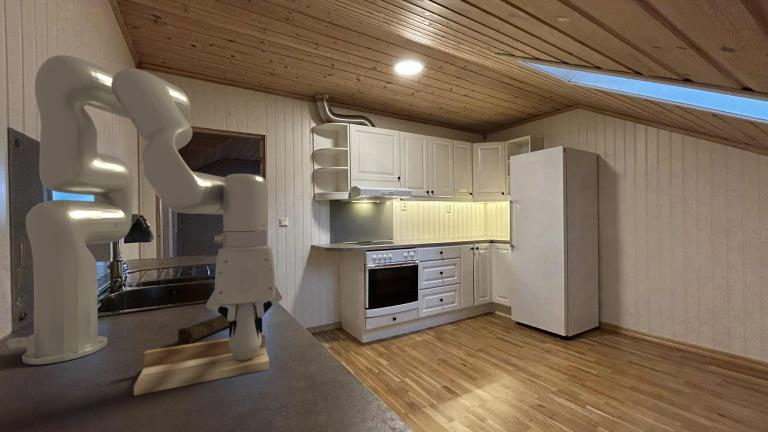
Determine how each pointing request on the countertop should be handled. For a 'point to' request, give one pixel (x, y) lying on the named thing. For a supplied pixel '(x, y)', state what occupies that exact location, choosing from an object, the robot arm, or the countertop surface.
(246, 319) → the salt shaker
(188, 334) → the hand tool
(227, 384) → the countertop surface
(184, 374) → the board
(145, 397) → the countertop surface
